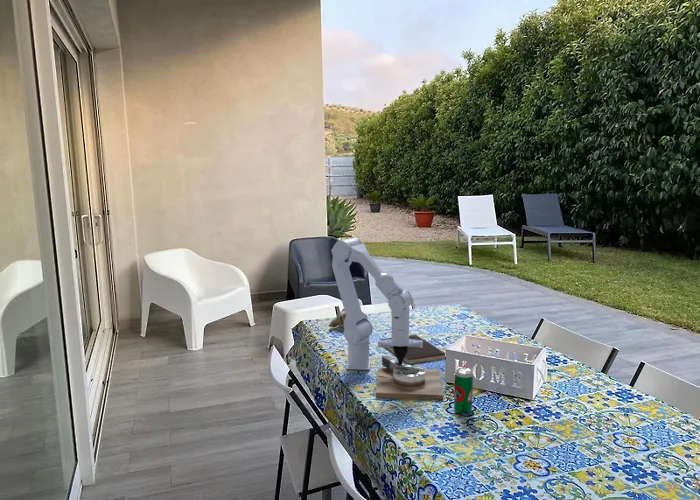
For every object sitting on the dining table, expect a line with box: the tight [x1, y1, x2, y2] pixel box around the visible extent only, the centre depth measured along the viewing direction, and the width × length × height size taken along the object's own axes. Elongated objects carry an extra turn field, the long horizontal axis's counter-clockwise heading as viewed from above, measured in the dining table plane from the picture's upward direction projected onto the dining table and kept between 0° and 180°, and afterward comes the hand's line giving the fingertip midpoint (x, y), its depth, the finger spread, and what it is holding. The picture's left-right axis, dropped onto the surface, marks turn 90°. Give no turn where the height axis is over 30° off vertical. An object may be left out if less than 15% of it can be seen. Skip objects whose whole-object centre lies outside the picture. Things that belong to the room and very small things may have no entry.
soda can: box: [453, 367, 474, 415], centre depth 158 cm, size 5×5×12 cm
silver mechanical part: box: [381, 355, 425, 386], centre depth 181 cm, size 19×10×4 cm, turn 30°
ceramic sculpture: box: [328, 308, 346, 329], centre depth 237 cm, size 11×9×15 cm
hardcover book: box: [379, 334, 446, 365], centre depth 209 cm, size 16×23×2 cm
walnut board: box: [375, 367, 444, 401], centre depth 177 cm, size 20×20×2 cm
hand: (400, 367), depth 185 cm, fingers closed
